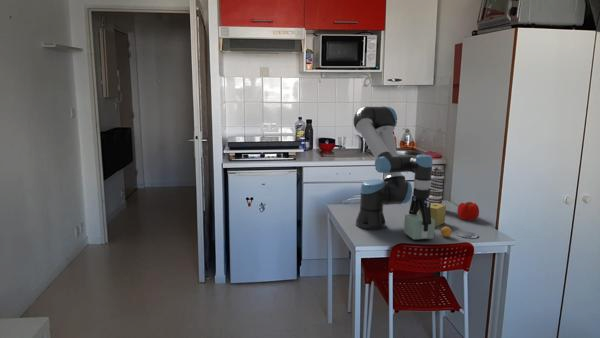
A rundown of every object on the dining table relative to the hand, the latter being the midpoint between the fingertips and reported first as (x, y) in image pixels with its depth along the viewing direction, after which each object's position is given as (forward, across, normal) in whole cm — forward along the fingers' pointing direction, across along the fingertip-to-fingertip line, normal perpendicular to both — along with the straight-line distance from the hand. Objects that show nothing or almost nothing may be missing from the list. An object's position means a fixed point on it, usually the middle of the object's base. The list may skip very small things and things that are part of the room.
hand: (418, 233), depth 214 cm
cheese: (+3, +21, -19) cm, 28 cm away
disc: (+2, 0, -27) cm, 27 cm away
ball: (0, 0, -15) cm, 15 cm away
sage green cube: (+1, 0, 0) cm, 1 cm away
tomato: (+3, +24, -42) cm, 48 cm away
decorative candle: (+2, +44, -33) cm, 55 cm away
